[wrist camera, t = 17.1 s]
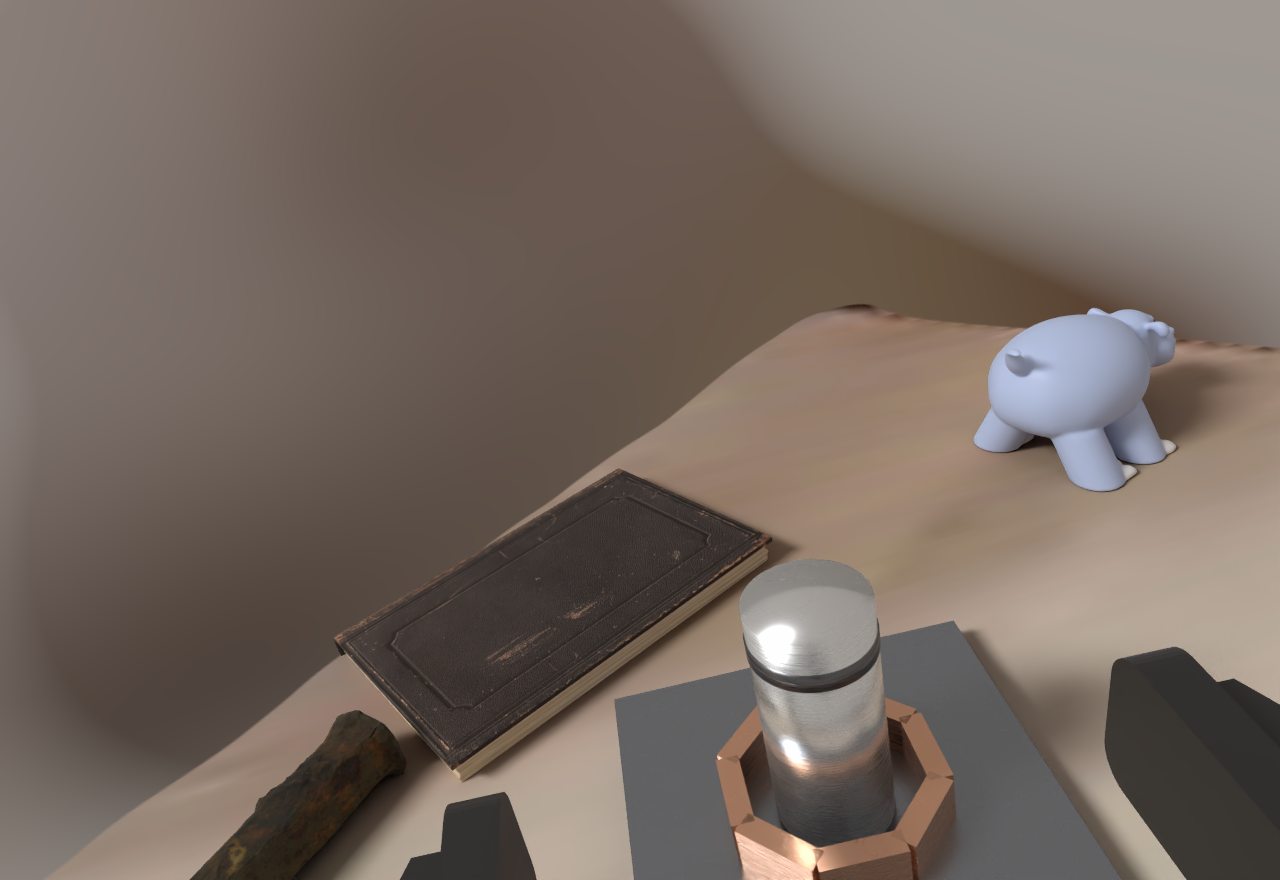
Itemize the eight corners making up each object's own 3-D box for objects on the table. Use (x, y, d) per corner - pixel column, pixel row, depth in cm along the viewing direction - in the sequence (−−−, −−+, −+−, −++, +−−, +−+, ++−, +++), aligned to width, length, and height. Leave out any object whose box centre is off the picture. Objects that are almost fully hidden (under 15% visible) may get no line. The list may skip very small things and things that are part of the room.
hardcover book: (776, 566, 57) (771, 536, 56) (464, 798, 46) (450, 766, 45) (621, 491, 69) (614, 465, 68) (343, 661, 58) (330, 633, 57)
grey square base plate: (661, 1088, 32) (643, 1037, 30) (619, 716, 48) (606, 670, 46) (1165, 972, 32) (1172, 915, 30) (954, 638, 48) (951, 590, 46)
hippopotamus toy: (1229, 417, 60) (1245, 280, 56) (1083, 515, 54) (1086, 372, 50) (1082, 376, 69) (1085, 255, 64) (942, 456, 63) (935, 330, 59)
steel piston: (792, 865, 37) (753, 660, 32) (763, 768, 41) (726, 575, 36) (915, 837, 37) (896, 627, 32) (873, 743, 41) (851, 546, 36)
